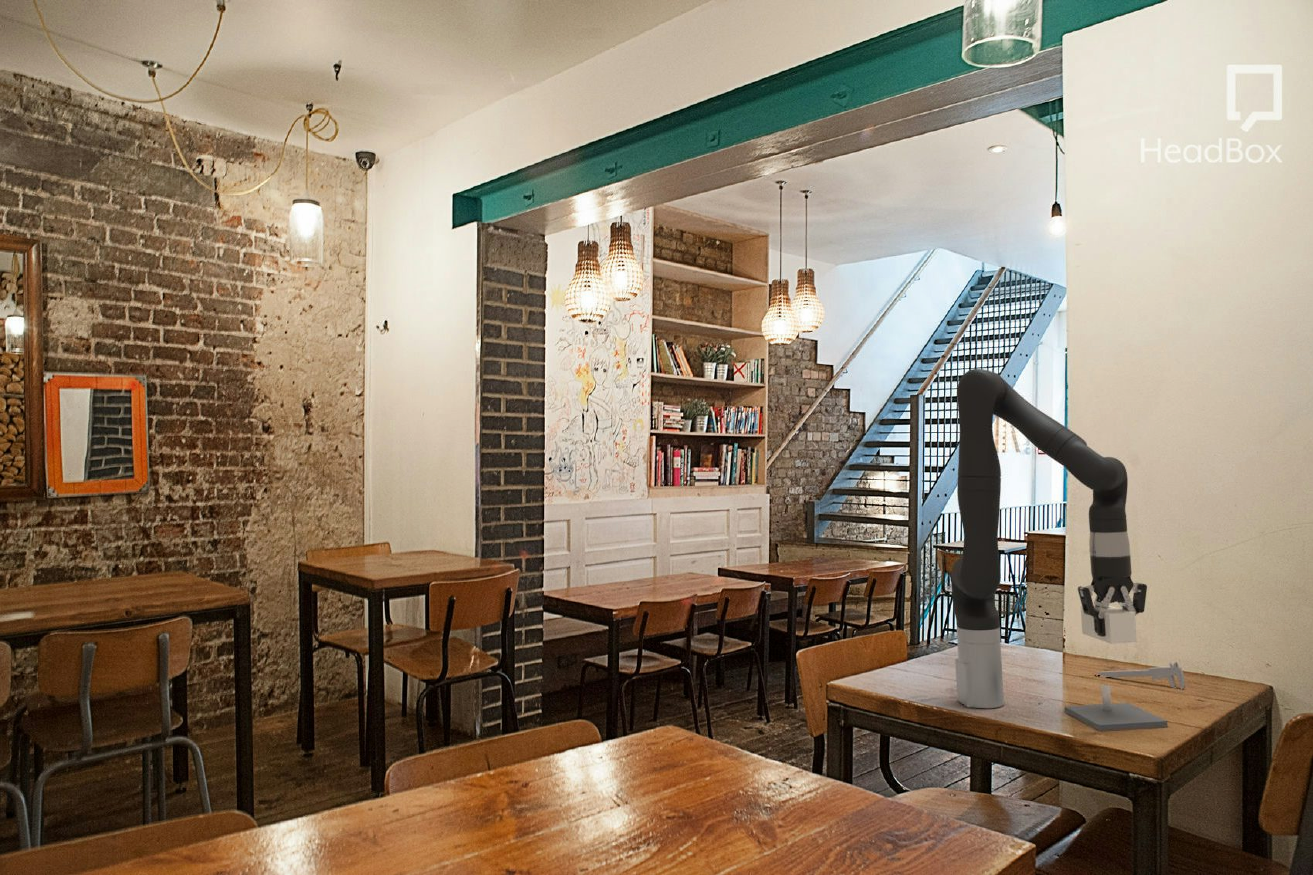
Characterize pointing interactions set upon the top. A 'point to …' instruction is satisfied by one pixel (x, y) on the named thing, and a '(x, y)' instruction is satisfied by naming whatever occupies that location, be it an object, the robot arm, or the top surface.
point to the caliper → (1152, 674)
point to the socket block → (1112, 626)
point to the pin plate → (1114, 715)
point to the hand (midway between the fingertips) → (1115, 634)
